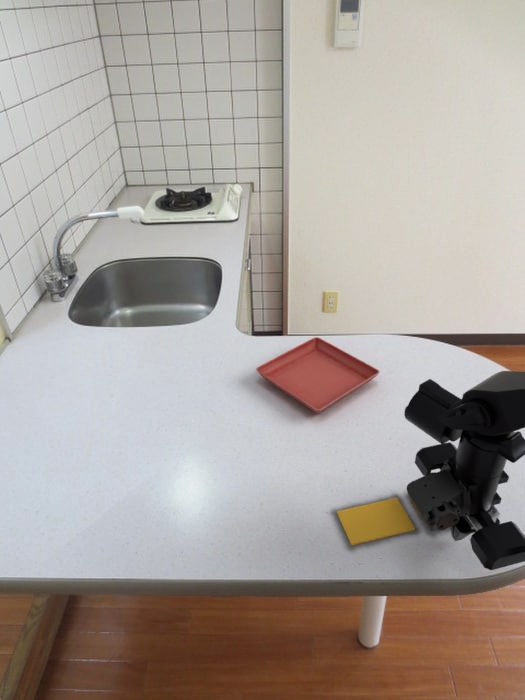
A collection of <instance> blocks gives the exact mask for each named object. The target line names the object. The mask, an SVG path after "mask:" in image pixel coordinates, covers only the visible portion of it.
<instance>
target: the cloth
mask: <svg viewBox="0 0 525 700" xmlns="http://www.w3.org/2000/svg"><path fill="white" fill-rule="evenodd" d="M336 514H337V516H338V519H339V521H340V523H341V525H342V528H343V531H344V532H345V534H346V537H347V538H348V541H349V544H350V545H351V546H356V545H360V544H365V543H368V542H372V541H377V540H381V539H384V538H389V537H393V536H396V535H397V536H398V535H400V534H405V533H409V532H412V531H415V530H416V527H415V525H414V524H413V522H412V521H411V519H410V517H409V515H408V513H407V512H406V510H405V509H404V507H403V505H402V503H401V501H400V500H399V498H398V497H393V498H388V499H384V500H379V501H376V502H370V503H367V504H363V505H359V506H354V507H350V508H346V509H341V510H337V511H336Z"/></svg>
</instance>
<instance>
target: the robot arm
mask: <svg viewBox="0 0 525 700" xmlns="http://www.w3.org/2000/svg"><path fill="white" fill-rule="evenodd" d="M418 385H419V386H418V390H417V392H415V393H414V395H413V396H412V397H411V399H410V400H409V402H408V404H407V405H406V406H405V408H404V418H405V420H406V421H408V422H409V423H411V424H412V425H414V426H415V427H416V428H418V429H419V430H420V431H422V432H424V433H425V434H427V435H428V436H429V437H431V438H432V439H434V440H435V441H436V442H438V443H439V444H434V445H430V446H425V447H421V448H420V449H419V450H418V451H417V452H416V454H415V459H414V465H416V467H417V469H418V470H419V471H420V473H421V475H422V477H419V478H416V479H414V480H412V481H413V482H412V481H411V482H408V484H407V485H406V492H407V495H408V498H409V501H410V503H411V505H412V507H413V508H414V510H415V512H416V513H417V515H418V517H419V518H420V520H421V522H422V523H423V524H424V525H427V526H428V527H429V526H436V528H437V529H438V530H437V531H445V530H447V529H449V528H450V531H451V532H450V534H451V537H452V539H453V540H454V542H459V541H462V540H464V539H465V538H467V537H468V536H470V535H471V536H470V539H469V543H470V546H471V550H472V552H473V553H474V554H475V556H476V557H477V559H478V560H479V561H480V563H481V565H482V567H483V568H484V569H486V570H489V571H494V570H498V569H502V568H505V567H510V566H512V565H517V564H521V563H524V562H525V534H524V533H523V532H522V530H521V529H520V528H519V526H518V525H517V524H516V523H515V522H514V521H512V520H509V521H505V522H502V523H501V521H500V519H499V518H500V517H501V513H500V511H499V510H498V509H497V507H496V505H500V504H501V501H502V497H501V496H500V495H499V493H498V492H497V490H498V487H499V485H502V484H507V483H508V481H509V479H510V476H509V474H508V473H507V472H506V470H504V469H505V467H506V464H507V461H508V462H509V463H512V464H515V463H516V462H518V461H519V460H520V459H521V458H523V457H524V456H525V438H524V436H523V433H522V432H521V431H519V430H522V429H525V371H516V370H502V371H499V372H496V373H493V375H491V376H489V377H488V378H486V379H484V380H482V381H481V382H479V383H478V384H476V385H475V386H473V387H471V388H470V389H468V390H466V391H465V392H464V393H463V394H462V398H460V397H459V396H457V395H455V394H454V393H452V392H451V391H448V390H447V389H445V388H444V387H442V386H441V385H440V384H439V383H437V382H436V381H434V380H432V378H429V379H426V380H425V381H424V382H421V383H420V384H418ZM458 440H459V441H458ZM456 441H458V445H457V447H456V445H454V444H453V443H455V442H456ZM435 470H439V471H437V472H432V471H435Z"/></svg>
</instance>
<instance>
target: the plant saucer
mask: <svg viewBox="0 0 525 700" xmlns="http://www.w3.org/2000/svg"><path fill="white" fill-rule="evenodd" d="M255 370H256V372H257V373H258V374H259V375H260V376H261V377H262V378H264V379H265V380H266V381H267V382H269V383H270V384H271V385H273V386H274V387H277V388H278V389H279V390H280V391H282V392H284V393H285V394H287V395H288V396H290V397H291V398H292V399H294V400H295V401H297V402H299V403H300V404H302V405H303V406H305V407H306V408H307V409H309V410H310V411H312V412H314V413H315V414H320V413H323V412H324V411H325V410H327V409H329V408H331V407H332V406H334V405H335V404H336V403H338V402H339V401H342V400H343V399H344V398H346V397H348V396H349V395H351V394H352V393H354V392H355V391H357V390H359V389H360V388H362V387H363V386H365V385H367V384H368V383H369V382H371V381H372V380H374V379H375V378H376V377H377V376H378V375H379V374H380V370H379V369H378V368H376V367H374V366H373V365H370V364H368V363H366V362H365V361H363V360H361V359H359V358H357V357H356V356H355V355H352V354H350V353H348V352H346V350H343V349H340V348H339V347H337V346H336V345H334V344H332V343H330V342H327V341H326V340H325V339H322V338H321V337H317V336H316V337H315V336H314V337H312V338H311V339H309V340H307V341H305V342H302V343H301V344H299V345H297V346H295V347H294V348H291V349H289V350H288V351H286V352H284V353H282V354H280V355H278V356H276V357H274V358H273V359H271V360H269V361H267V362H265V363H263V364H261V365H259V366H257V367H256V369H255Z"/></svg>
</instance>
